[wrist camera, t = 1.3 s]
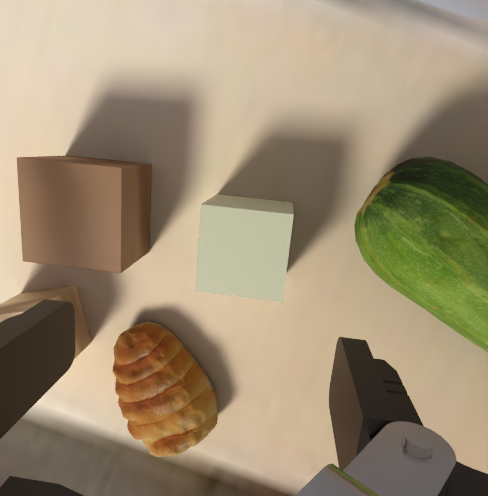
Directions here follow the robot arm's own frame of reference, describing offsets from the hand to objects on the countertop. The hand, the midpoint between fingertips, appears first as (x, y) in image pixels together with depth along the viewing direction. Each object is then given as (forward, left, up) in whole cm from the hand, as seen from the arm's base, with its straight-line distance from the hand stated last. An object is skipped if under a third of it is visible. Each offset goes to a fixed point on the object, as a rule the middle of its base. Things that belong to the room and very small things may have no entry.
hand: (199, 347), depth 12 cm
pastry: (+5, +12, -16) cm, 21 cm away
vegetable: (-15, +1, -16) cm, 22 cm away
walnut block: (+10, -1, -15) cm, 18 cm away
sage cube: (0, 0, -15) cm, 15 cm away
